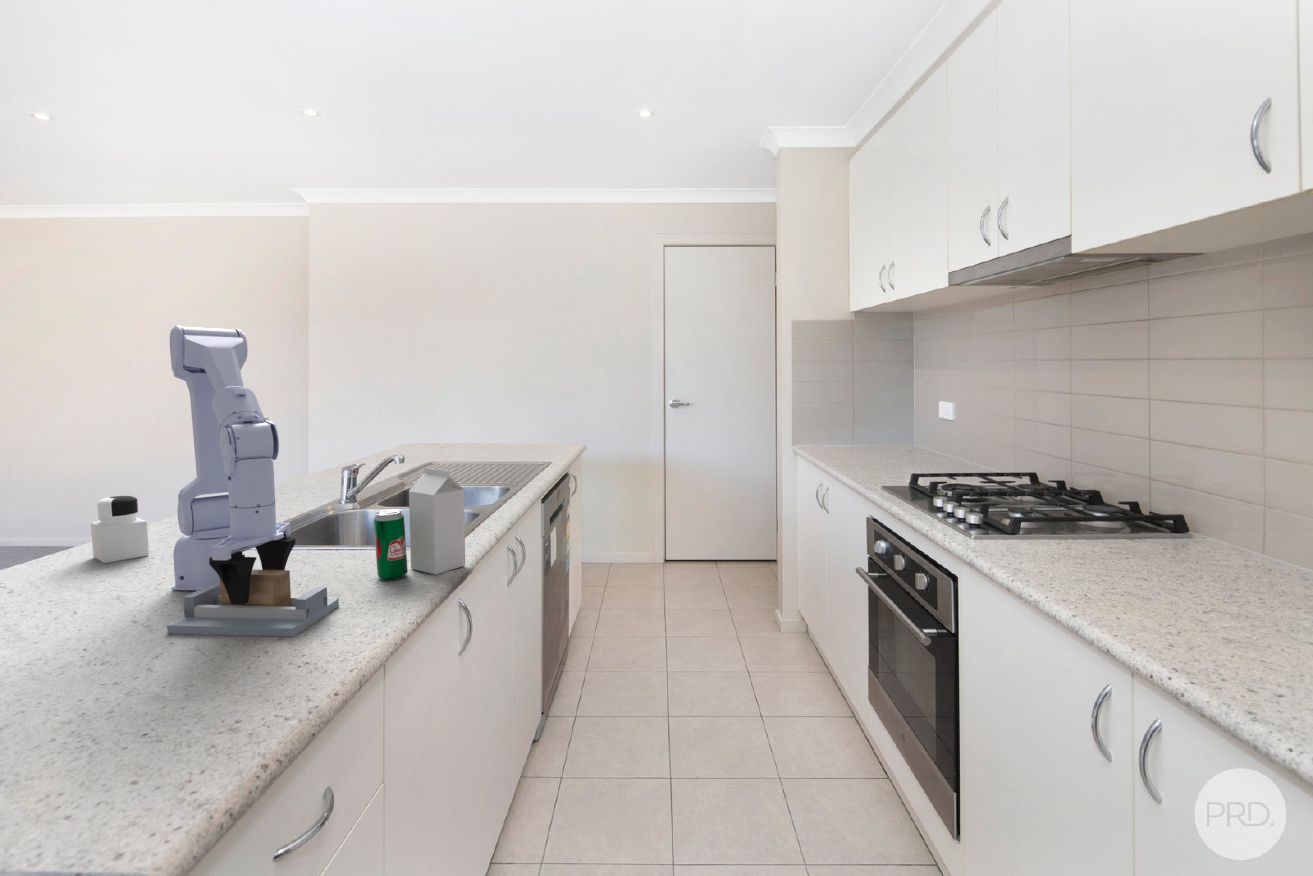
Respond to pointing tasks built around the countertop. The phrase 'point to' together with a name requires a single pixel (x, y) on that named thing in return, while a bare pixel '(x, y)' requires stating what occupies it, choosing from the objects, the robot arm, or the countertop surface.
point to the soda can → (390, 544)
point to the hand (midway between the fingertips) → (257, 594)
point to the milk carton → (436, 523)
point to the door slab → (265, 589)
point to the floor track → (250, 615)
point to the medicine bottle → (119, 530)
